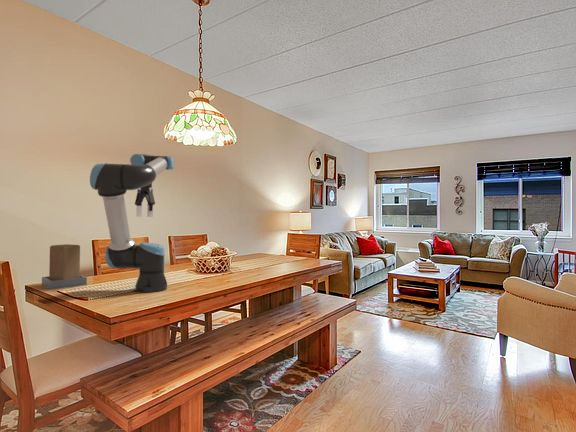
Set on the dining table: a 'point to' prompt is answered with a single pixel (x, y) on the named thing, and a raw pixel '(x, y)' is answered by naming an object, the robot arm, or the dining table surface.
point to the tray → (64, 282)
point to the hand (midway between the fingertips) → (144, 216)
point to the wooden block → (64, 262)
